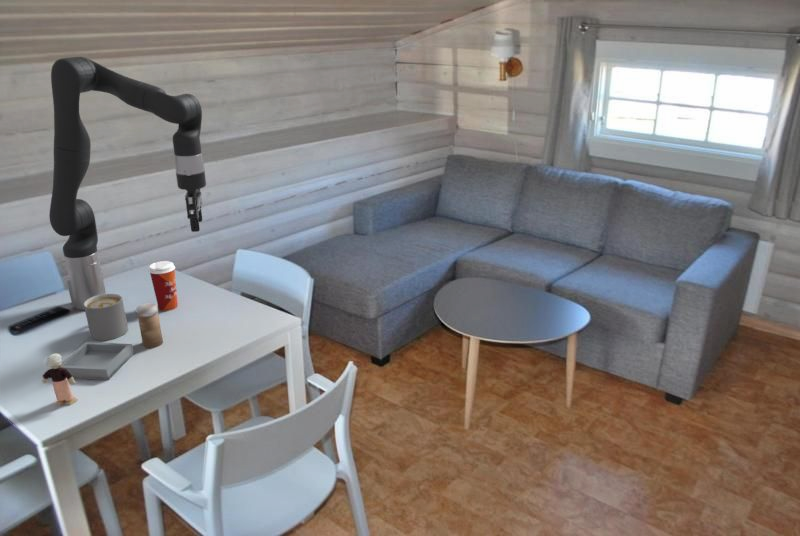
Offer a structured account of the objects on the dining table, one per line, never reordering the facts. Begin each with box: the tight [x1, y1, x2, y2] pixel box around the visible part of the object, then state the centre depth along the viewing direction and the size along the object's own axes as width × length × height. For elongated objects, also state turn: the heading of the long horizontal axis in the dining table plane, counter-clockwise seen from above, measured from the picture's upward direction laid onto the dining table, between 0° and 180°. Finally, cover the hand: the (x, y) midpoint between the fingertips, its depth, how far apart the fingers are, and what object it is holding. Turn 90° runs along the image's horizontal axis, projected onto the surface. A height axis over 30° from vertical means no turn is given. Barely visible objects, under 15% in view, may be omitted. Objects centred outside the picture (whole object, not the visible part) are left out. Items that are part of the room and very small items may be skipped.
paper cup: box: [148, 260, 178, 312], centre depth 196 cm, size 8×8×14 cm
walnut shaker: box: [135, 302, 164, 349], centre depth 175 cm, size 5×5×11 cm
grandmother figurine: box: [41, 352, 79, 406], centre depth 148 cm, size 8×4×13 cm, turn 98°
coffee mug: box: [84, 293, 129, 342], centre depth 183 cm, size 13×10×10 cm
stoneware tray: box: [61, 341, 135, 381], centre depth 166 cm, size 13×13×3 cm
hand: (197, 226), depth 181 cm, fingers open, 8 cm apart
